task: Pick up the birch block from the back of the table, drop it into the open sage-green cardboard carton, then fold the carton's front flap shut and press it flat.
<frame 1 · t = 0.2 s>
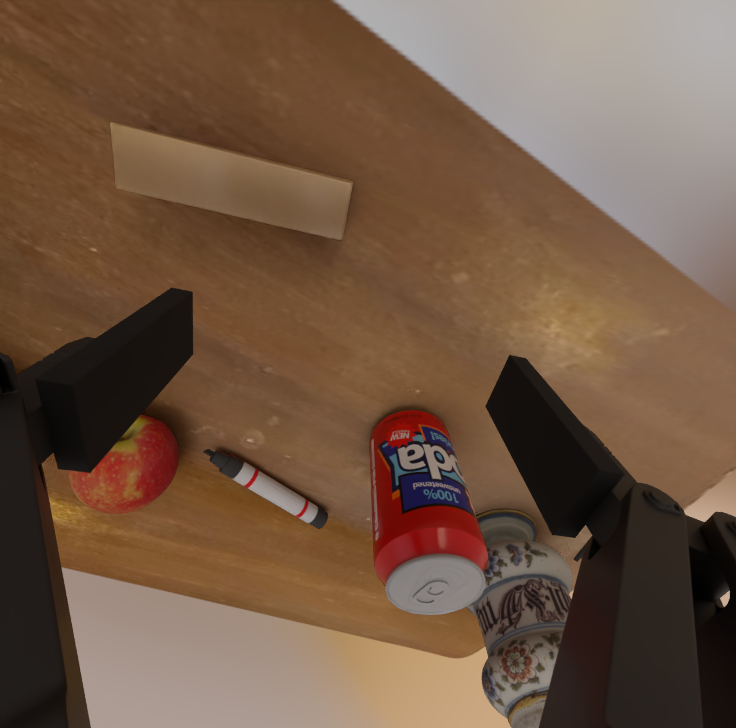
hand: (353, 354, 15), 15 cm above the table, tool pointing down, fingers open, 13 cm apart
marker: (269, 478, 39), on the table
birch block: (249, 183, 25), on the table
apothecary jar: (495, 534, 45), on the table
apple: (151, 432, 36), on the table
soda can: (407, 434, 37), on the table
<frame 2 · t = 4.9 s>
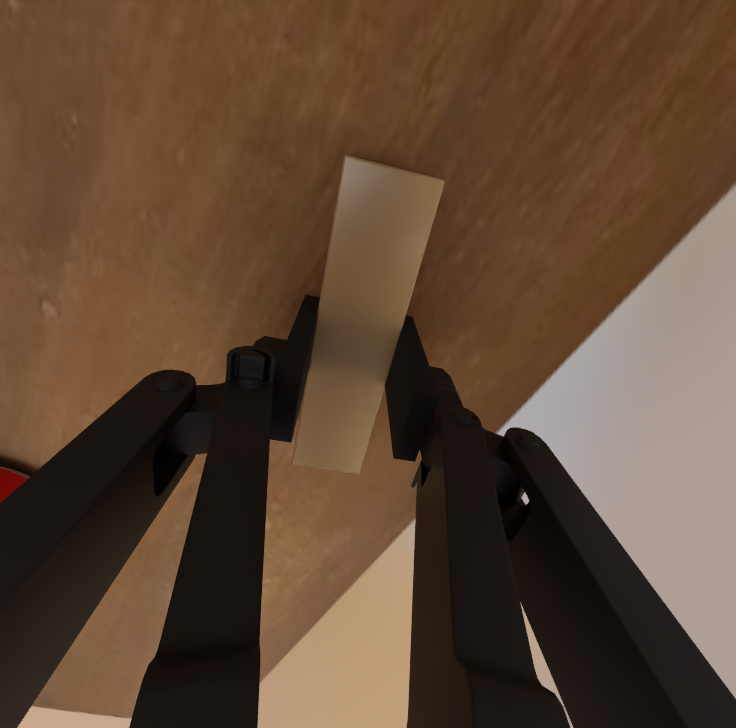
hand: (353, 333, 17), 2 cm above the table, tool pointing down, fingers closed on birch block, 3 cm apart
birch block: (354, 320, 18), on the table, touching gripper
soda can: (15, 494, 24), on the table
when the fingers open (8 cm above the table, at t = 12.9 s): birch block stays where it is, resting on carton.
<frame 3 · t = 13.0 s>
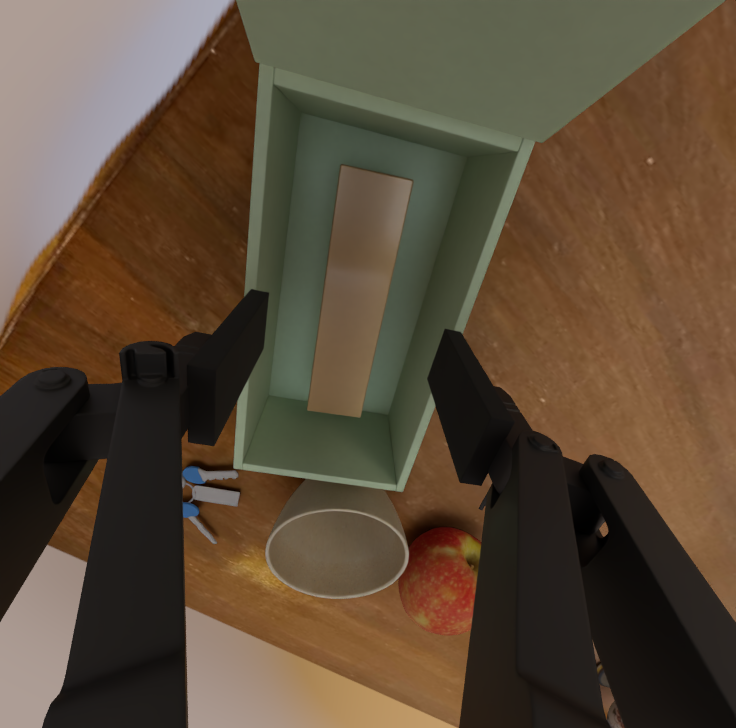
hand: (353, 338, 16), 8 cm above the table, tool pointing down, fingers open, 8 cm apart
birch block: (352, 293, 23), resting on carton
apothecary jar: (628, 665, 50), on the table
flower pot: (341, 479, 32), on the table
key chain: (194, 476, 31), on the table
apple: (435, 537, 36), on the table
carton: (353, 291, 23), on the table
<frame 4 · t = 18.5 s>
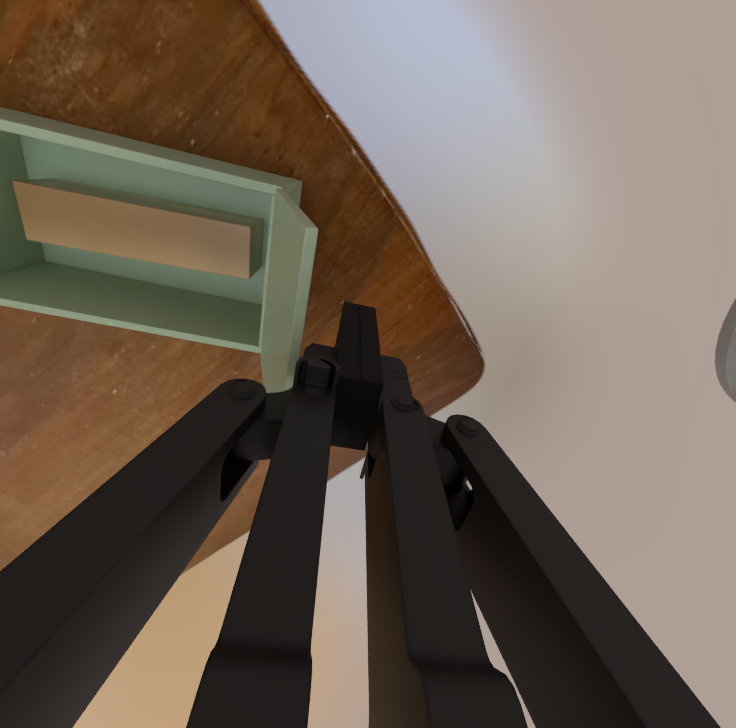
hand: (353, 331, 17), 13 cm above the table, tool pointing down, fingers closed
birch block: (164, 225, 26), resting on carton
carton: (167, 224, 26), on the table
flap: (279, 316, 17), point 13 cm above the table, hinge at 107.1°, touching gripper
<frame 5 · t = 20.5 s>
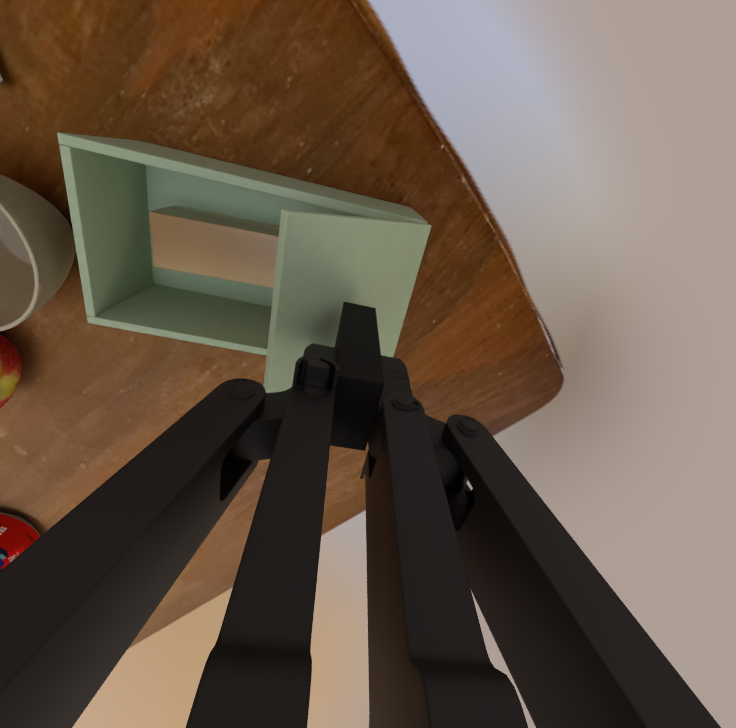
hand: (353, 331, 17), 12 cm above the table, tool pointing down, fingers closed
birch block: (273, 249, 27), resting on carton
flower pot: (40, 229, 26), on the table
soda can: (12, 526, 42), on the table
carton: (274, 248, 27), on the table
flap: (349, 322, 18), point 11 cm above the table, hinge at 45.7°, touching gripper
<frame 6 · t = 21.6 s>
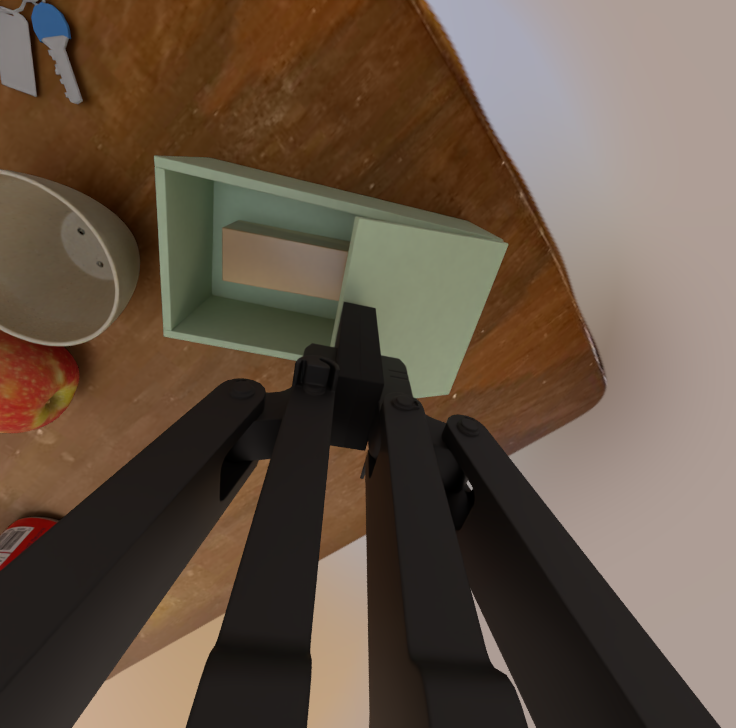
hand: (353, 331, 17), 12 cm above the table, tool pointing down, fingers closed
birch block: (332, 262, 27), resting on carton
flower pot: (104, 242, 27), on the table
key chain: (41, 18, 21), on the table
apple: (46, 351, 31), on the table
soda can: (53, 531, 43), on the table
carton: (332, 260, 28), on the table
flap: (412, 325, 20), point 10 cm above the table, hinge at 25.7°
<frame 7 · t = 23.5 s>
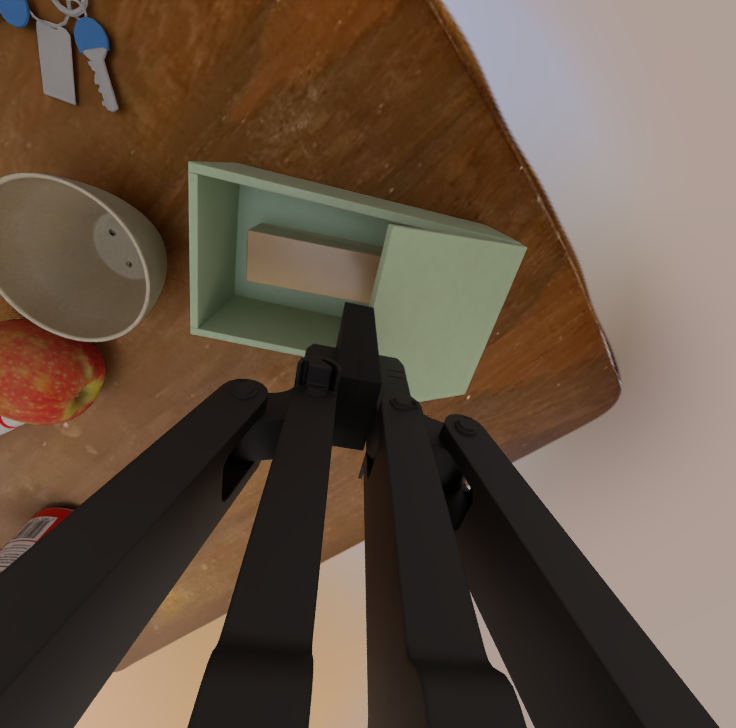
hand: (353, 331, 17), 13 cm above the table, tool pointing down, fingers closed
marker: (8, 417, 36), on the table
birch block: (351, 263, 28), resting on carton
flower pot: (133, 243, 28), on the table
key chain: (82, 31, 22), on the table
apple: (74, 347, 33), on the table
soda can: (75, 522, 44), on the table
carton: (351, 262, 28), on the table
flap: (435, 328, 20), point 10 cm above the table, hinge at 30.2°, touching gripper
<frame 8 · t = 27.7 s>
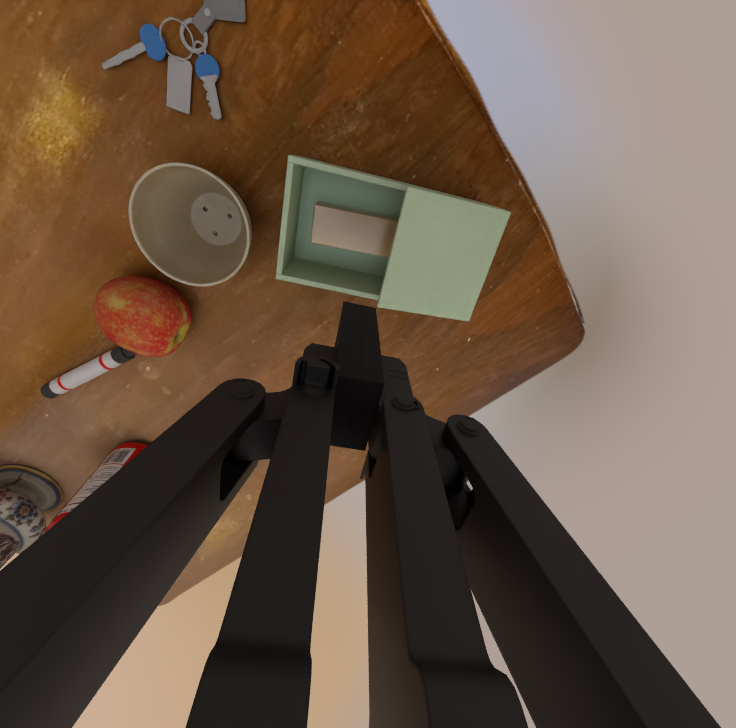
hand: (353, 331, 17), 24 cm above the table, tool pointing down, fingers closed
marker: (101, 363, 45), on the table
birch block: (383, 232, 38), resting on carton
apothecary jar: (29, 486, 55), on the table
flower pot: (218, 218, 37), on the table
key chain: (199, 63, 31), on the table
apple: (163, 302, 42), on the table
soda can: (143, 457, 53), on the table
carton: (382, 231, 38), on the table
flap: (441, 261, 31), point 9 cm above the table, hinge at 8.0°
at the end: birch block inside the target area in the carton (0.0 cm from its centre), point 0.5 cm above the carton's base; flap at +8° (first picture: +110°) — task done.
